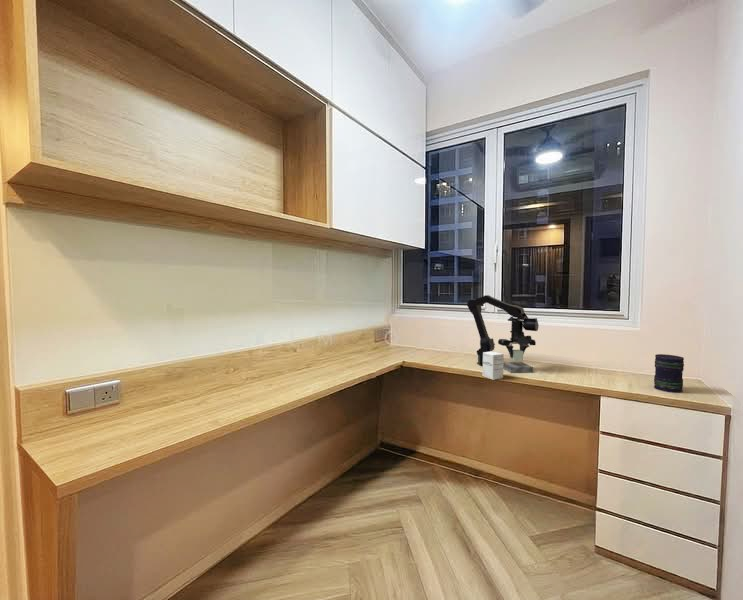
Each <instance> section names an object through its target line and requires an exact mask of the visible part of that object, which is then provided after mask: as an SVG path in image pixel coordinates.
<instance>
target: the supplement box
mask: <svg viewBox="0 0 743 600" xmlns="http://www.w3.org/2000/svg"><path fill="white" fill-rule="evenodd" d="M504 356H505V355H504V353H500V352H498V351H494V350H493V351H490V352H483V366H482V377H485V378H487V379H490V380H492V381H494V380H500V379H503V378H504V369H503V362H505V361H504Z"/></svg>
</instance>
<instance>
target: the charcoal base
mask: <svg viewBox="0 0 743 600" xmlns="http://www.w3.org/2000/svg"><path fill="white" fill-rule="evenodd" d="M503 370H504V371H506V370H507V372H508V373H510V374H527V373H529V374H530V373H534V367H533V366H532V365H529V364H527V363H525V362H522V361H503Z"/></svg>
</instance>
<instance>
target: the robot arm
mask: <svg viewBox="0 0 743 600" xmlns="http://www.w3.org/2000/svg"><path fill="white" fill-rule="evenodd" d="M485 304H488V305H491V306H494V307H496V308H498V309H500V310H502V311H505V312H506V314H508V315H509V316H510V317H509V318H508V319H507V322H511V328H510V331H509V332H510V334H511V337H509V339H507V338H499V339H498V342H497V343H498V345H501V346H505V347H506V349H507V351H508V353H509V357H510V356H511V358H513V350H514V348H515V347H514V344H516V345H519V350H521V351H523V355H524V354H525V352H526V349H528V348H529V347H530V346H536V345H537V343H536V340H535V339H532V336H531V335H525V332H524V331H523V330H525V331H530V332H531V331H532V332H538V330H539V326H540V325H539V321H538V318H537V317H528V315H527V314H526V313H525V309H524V308H523V307H522V306H519V305H515V304H509V303H507V302H504V301H503V300H500V299H497V298H495V297H492V296H490V295H489V294H488V295H483V296H481V297H479V298H474V299H473V298H472V299H469V300H468V301H467V303H466V306H467V308H468V310H469V312H470V313H471V314H472V315H473V318H474V321H475V325H476V328H477V331H478V335H479V339H480V341H479V346H480V348H478V350H476V354H477V362H476V364H477V365H478V366H481V367H483V352H490V351H494V349H495V346H496V344H495V341H494V337H493V338H491V337H490V336H489V333H488V331H487V327H486V324H485V321H484V318H483V316H482V306H483V305H485Z"/></svg>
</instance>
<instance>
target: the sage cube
mask: <svg viewBox="0 0 743 600" xmlns="http://www.w3.org/2000/svg"><path fill="white" fill-rule="evenodd" d="M509 359H510V360H512V361H513V362H521V361H524V354H523V351H521V350H520V349H513V358H511V356H510V355H509Z"/></svg>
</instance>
